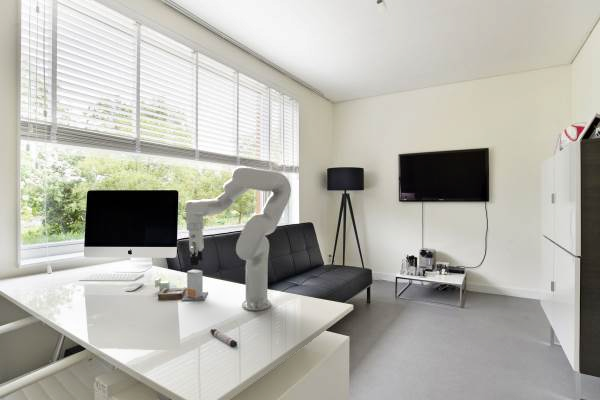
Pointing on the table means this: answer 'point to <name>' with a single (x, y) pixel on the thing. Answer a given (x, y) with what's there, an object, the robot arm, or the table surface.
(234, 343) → the marker
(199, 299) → the pad
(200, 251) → the robot arm
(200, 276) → the skincare box
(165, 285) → the white stepped block
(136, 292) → the table surface
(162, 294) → the holder
